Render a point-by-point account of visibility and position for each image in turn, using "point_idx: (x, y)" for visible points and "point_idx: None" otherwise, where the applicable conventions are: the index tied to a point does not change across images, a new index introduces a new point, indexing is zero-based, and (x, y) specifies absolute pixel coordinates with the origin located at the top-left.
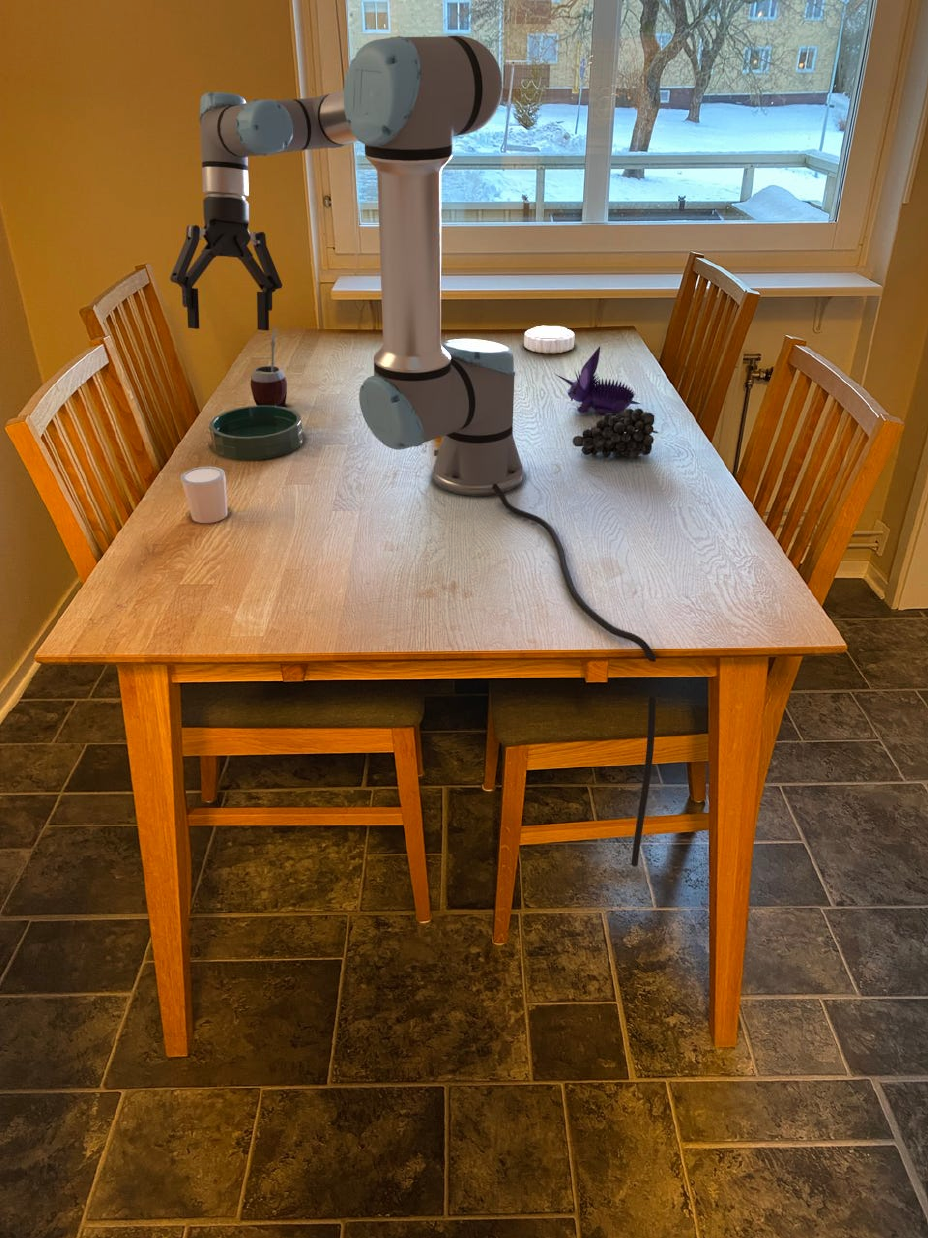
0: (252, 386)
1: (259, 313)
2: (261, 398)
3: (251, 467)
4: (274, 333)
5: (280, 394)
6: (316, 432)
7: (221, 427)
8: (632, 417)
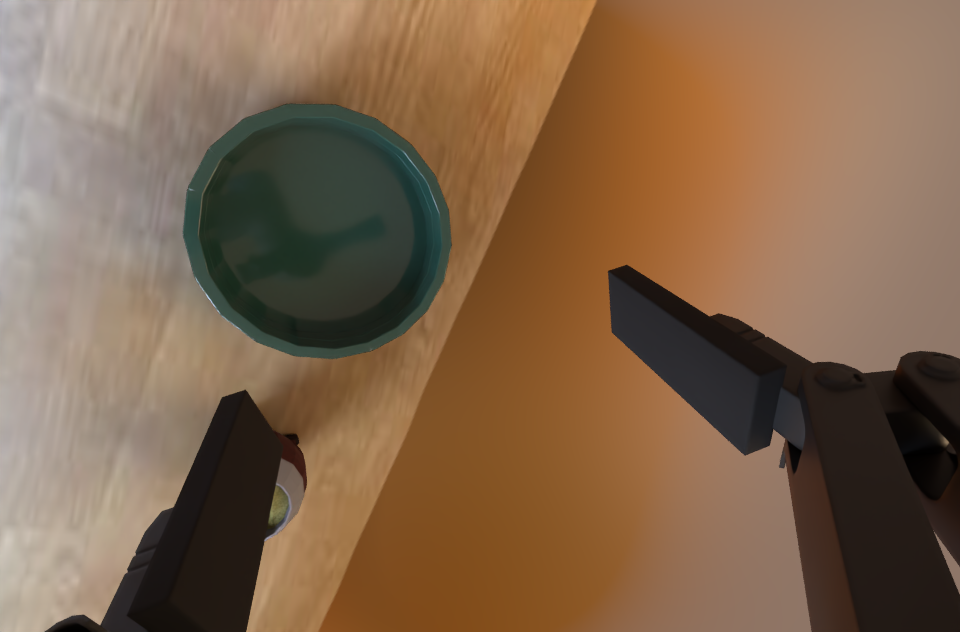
0: (304, 465)
1: (257, 498)
2: (283, 436)
3: (372, 84)
4: None
5: None
6: (143, 242)
7: (409, 301)
8: None
